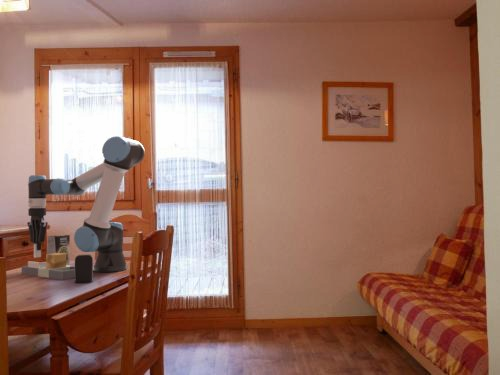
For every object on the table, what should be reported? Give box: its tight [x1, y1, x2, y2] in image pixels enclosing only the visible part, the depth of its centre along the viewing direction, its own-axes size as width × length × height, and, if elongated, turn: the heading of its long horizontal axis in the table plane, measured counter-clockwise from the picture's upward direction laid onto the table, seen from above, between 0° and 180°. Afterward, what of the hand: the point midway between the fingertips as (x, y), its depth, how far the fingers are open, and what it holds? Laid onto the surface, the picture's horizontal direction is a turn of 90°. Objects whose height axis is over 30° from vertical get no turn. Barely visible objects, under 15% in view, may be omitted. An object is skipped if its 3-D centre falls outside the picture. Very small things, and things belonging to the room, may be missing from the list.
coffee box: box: [46, 234, 71, 265], centre depth 206 cm, size 9×6×16 cm
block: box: [45, 253, 66, 269], centre depth 183 cm, size 6×6×6 cm
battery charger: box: [74, 253, 94, 284], centre depth 166 cm, size 7×4×11 cm, turn 109°
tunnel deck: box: [21, 260, 75, 281], centre depth 184 cm, size 31×12×6 cm, turn 59°
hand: (37, 257), depth 191 cm, fingers closed
